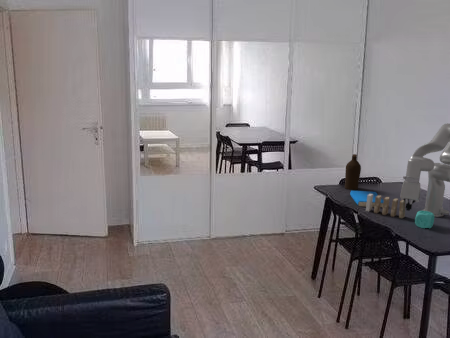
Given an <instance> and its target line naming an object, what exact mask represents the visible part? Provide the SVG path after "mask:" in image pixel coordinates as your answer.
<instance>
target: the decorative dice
mask: <svg viewBox="0 0 450 338" xmlns="http://www.w3.org/2000/svg"><path fill="white" fill-rule="evenodd" d="M434 222H435V217H434V214H433V213H432V212H429V211H422V210H419V211H417V212H416V215H415V218H414V224H415V225H416V227H418V228H421V229H425V228H429V229H431V228H433V225H434Z"/></svg>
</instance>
